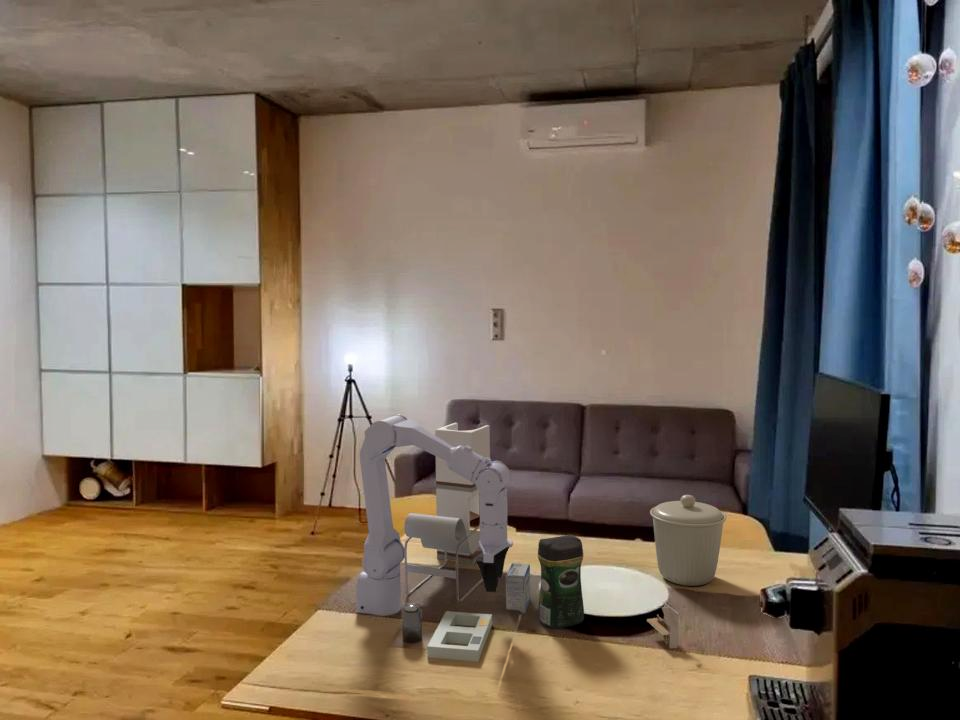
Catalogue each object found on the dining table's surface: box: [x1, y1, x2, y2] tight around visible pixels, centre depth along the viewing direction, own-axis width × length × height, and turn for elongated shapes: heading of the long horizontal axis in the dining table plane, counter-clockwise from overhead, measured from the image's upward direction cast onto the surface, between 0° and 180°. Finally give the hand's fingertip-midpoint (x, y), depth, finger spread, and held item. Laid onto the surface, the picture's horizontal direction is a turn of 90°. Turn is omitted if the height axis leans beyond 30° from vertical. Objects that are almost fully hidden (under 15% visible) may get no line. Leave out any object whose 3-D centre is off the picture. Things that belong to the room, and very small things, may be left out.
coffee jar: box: [537, 533, 585, 629], centre depth 158 cm, size 10×8×19 cm
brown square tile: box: [387, 627, 436, 651], centre depth 150 cm, size 8×8×1 cm
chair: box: [403, 512, 483, 602], centre depth 180 cm, size 13×25×20 cm, turn 158°
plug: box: [401, 602, 423, 643], centre depth 149 cm, size 4×4×7 cm
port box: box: [426, 610, 493, 663], centre depth 149 cm, size 10×16×3 cm, turn 170°
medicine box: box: [505, 562, 531, 615], centre depth 167 cm, size 8×4×9 cm, turn 168°
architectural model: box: [646, 602, 680, 650], centre depth 149 cm, size 3×7×7 cm, turn 15°
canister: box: [649, 494, 727, 587], centre depth 181 cm, size 18×18×21 cm
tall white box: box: [434, 422, 491, 565], centre depth 199 cm, size 11×11×35 cm
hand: (493, 584), depth 155 cm, fingers open, 7 cm apart
